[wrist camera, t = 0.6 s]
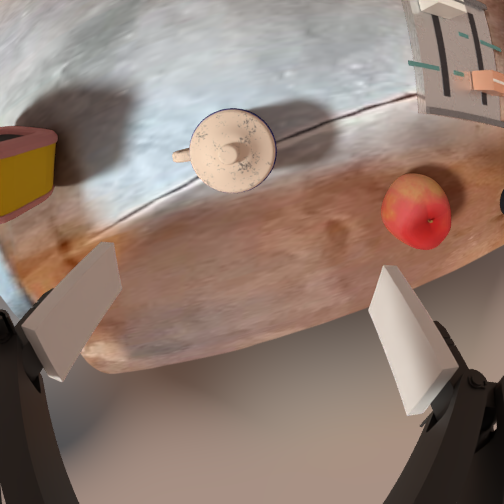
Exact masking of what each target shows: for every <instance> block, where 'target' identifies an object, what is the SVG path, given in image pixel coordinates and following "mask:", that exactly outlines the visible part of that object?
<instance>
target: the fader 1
mask: <svg viewBox="0 0 504 504" xmlns="http://www.w3.org/2000/svg"><path fill="white" fill-rule="evenodd" d="M418 1H419V5H420V9H421V11H422V12H426V13H430V14H433V15H436V16H440V17H443V18H446V19H451V18H453V17H456V16H459V15H462V14H464V13H467V11H466V7H465V5H466V4H465V2H464V1H463V0H418Z"/></svg>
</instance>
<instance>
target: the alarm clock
mask: <svg viewBox="0 0 504 504" xmlns="http://www.w3.org/2000/svg"><path fill="white" fill-rule="evenodd" d="M57 140H58V136H57V134H56V133H55V132H54V131H53V130H49V129H44V128H34V127H23V126H5V127H0V224H2V223H6V222H8V221H10V220H12V219H14V218H16V217H18V216H19V215H21V214H23V213H24V212H26V211H28V210H30V209H31V208H33V207H35V206H37V205H38V204H40V203H42V202H43V201H45V200H46V199H47V198H48V197H49V196H50V195H51V194H52V192H53V189H54V185H53V175H54V159H55V147H56V142H57Z"/></svg>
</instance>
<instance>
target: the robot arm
mask: <svg viewBox="0 0 504 504" xmlns="http://www.w3.org/2000/svg"><path fill="white" fill-rule="evenodd" d="M121 290H122V286H121V281H120V276H119V271H118V265H117V260H116V254H115V248H114V243H109V242H101V243H99V244H98V245H97V246H96V247H95V248H94V249H93V250H92V251H91V252H90V253H89V254H88V255H87V256H86V257H85V258H84V259H83V260H82V261H81V262H80V263H79V264H78V265H77V266H76V267H75V268H74V269H73V270H72V271H71V272H70V273H69V274H68V275H67V276H66V277H65V278H64V279H63V280H62V281H61V282H60V283H59V284H58V285H57V286H56V287H55V288H52V289H51V290H49V291H48V292H46V293H44V294H43V295H42V296H41V297H40V298H39V300H38V301H37V303H35V304H34V305H33V306H32V308H30V310H29V311H28V312H27V313H26V314H25V315H24V316H23V318H22V319H21V320H20V321H19V322H18V323H17V325H16V326H15V327H14V325H13V323H12V321H11V319H10V316H9V314H8V313H7V312H6V311H5V310H0V483H1V487H2V491H3V495H4V498H5V502H6V504H79V502H78V500H77V497H76V495H75V493H74V490H73V488H72V485H71V483H70V480H69V478H68V475H67V472H66V470H65V467H64V464H63V461H62V458H61V455H60V451H59V448H58V445H57V441H56V438H55V434H54V431H53V427H52V423H51V419H50V414H49V410H48V405H47V400H46V395H45V389H44V384H43V378H42V376H41V374H40V372H41V370H42V368H44V369H45V371H46V373H47V374H48V376H49V377H51V378H53V379H56V380H58V381H61V382H63V381H64V379H65V377H66V375H67V374H68V372H69V370H70V369H71V367H72V365H73V364H74V362H75V360H76V359H77V357H78V355H79V354H80V352H81V350H82V349H83V347H84V346H85V344H86V342H87V341H88V339H89V338H90V336H91V335H92V333H93V331H94V330H95V328H96V327H97V325H98V324H99V322H100V321H101V319H102V318H103V316H104V315H105V313H106V312H107V310H108V309H109V307H110V306H111V304H112V303H113V302H114V300H115V299H116V297H117V296H118V294H119V293H120V291H121ZM368 311H369V313H370V316H371V318H372V320H373V323H374V325H375V328H376V330H377V333H378V335H379V338H380V340H381V343H382V345H383V348H384V351H385V353H386V356H387V359H388V361H389V364H390V367H391V369H392V372H393V375H394V378H395V381H396V384H397V386H398V389H399V392H400V395H401V398H402V401H403V404H404V408H405V411H406V414H407V416H410V415H416V414H421V413H423V412H424V411H425V410H426V409H427V408H428V407H429V405H430V404H431V407H432V409H433V411H432V413H431V414H430V415H429V416H428V417H427V418H426V419H425V420H424V421H423V422H422V424H421V425H420V427H422V426H423V425H424V424H425V423H426V424H425V427H424V429H423V431H422V433H421V436H420V438H419V440H418V442H417V444H416V446H415V448H414V451H413V453H412V454H411V456H410V458H409V460H408V462H407V464H406V466H405V468H404V470H403V471H402V473H401V475H400V477H399V478H398V480H397V482H396V484H395V485H394V487H393V489H392V490H391V492H390V494H389V495H388V497H387V498H386V500H385V501H384V503H383V504H504V376H503V377H502V378H501V380H500V381H499V382H498V383H494V382H487V380H486V378H485V377H484V376H483V375H482V374H481V373H480V372H478V371H477V370H474V369H468V367H467V365H466V363H465V361H464V360H463V358H462V356H461V354H460V352H459V351H458V349H457V347H456V346H454V342H453V341H452V339H450V335H449V334H448V332H447V330H446V329H445V328H444V327H443V326H442V325H441V324H440V323H439V322H438V321H433V320H432V319H431V317H430V315H429V314H428V313H427V311H426V309H425V307H424V306H423V304H422V303H421V301H420V300H419V298H418V297H417V295H416V294H415V292H414V291H413V289H412V288H411V286H410V285H409V283H408V282H407V280H406V279H405V277H404V276H403V274H402V273H401V272H400V270H399V269H398V267H397V266H390V265H383V268H382V271H381V274H380V277H379V280H378V283H377V286H376V289H375V292H374V295H373V298H372V301H371V304H370V307H369V310H368ZM496 422H497V429H496V430H495V431H494V429H493V425H494V424H495V423H496ZM456 502H457V503H456ZM0 504H2V500H1V488H0Z"/></svg>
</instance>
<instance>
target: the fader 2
mask: <svg viewBox="0 0 504 504" xmlns="http://www.w3.org/2000/svg"><path fill="white" fill-rule="evenodd" d="M472 78H473V88H474V90H477V91H480V92H484V93H487V94H490V95H493V96H503V97H504V74H501V73H499V72H496V71H494V70H479V71H472Z"/></svg>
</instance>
